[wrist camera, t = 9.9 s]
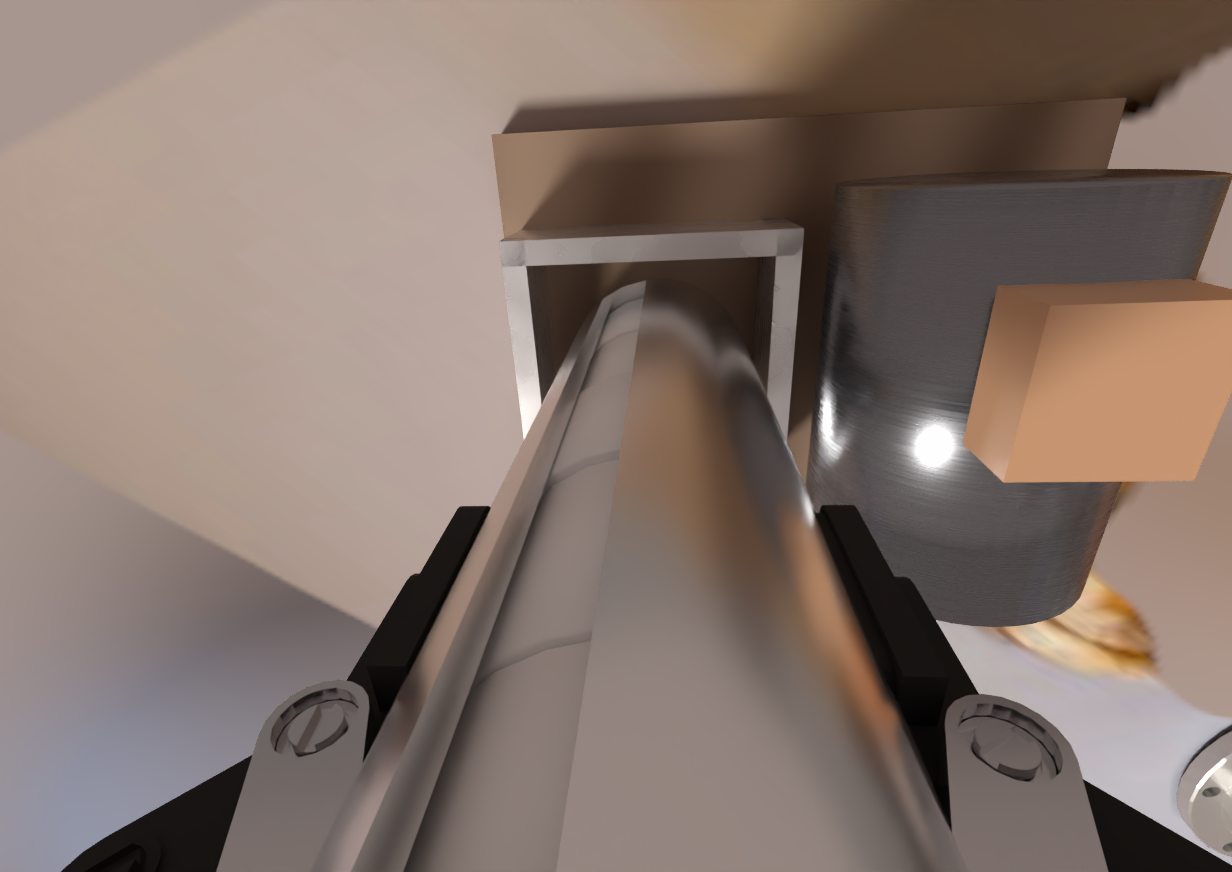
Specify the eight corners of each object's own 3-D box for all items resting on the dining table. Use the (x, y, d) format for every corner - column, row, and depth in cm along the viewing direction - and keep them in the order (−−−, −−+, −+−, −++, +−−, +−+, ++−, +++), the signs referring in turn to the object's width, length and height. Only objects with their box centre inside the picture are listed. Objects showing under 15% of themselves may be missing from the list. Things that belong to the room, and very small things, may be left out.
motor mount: (1101, 100, 20) (1618, 36, 9) (996, 501, 27) (1225, 735, 16) (499, 135, 22) (341, 115, 11) (543, 504, 29) (472, 717, 18)
